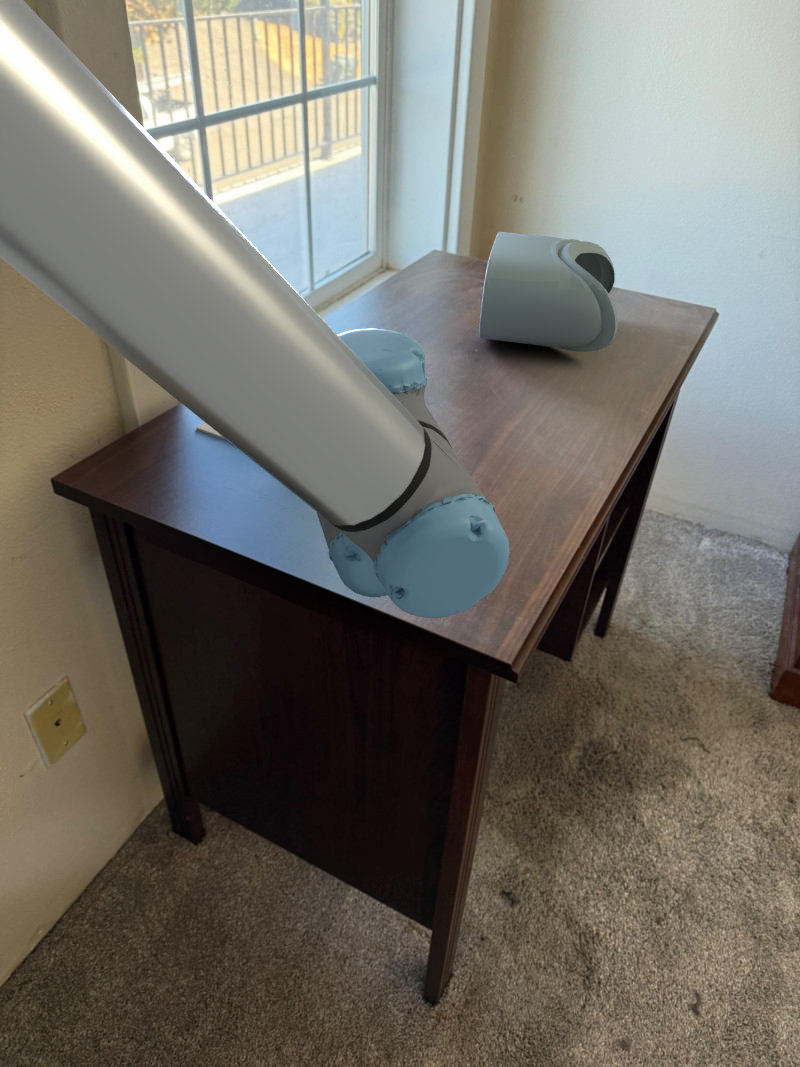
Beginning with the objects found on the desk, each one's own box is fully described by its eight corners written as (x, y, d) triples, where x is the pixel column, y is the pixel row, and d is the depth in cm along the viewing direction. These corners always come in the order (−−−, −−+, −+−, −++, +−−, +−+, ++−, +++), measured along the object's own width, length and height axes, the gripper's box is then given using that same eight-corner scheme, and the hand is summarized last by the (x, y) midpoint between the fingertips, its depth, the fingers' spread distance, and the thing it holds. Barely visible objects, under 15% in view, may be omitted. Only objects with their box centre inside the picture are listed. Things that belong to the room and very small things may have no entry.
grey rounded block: (491, 301, 125) (500, 221, 117) (606, 313, 123) (624, 232, 115) (476, 355, 108) (485, 266, 100) (609, 371, 106) (629, 281, 98)
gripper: (244, 508, 68) (217, 391, 85) (434, 482, 72) (371, 375, 89) (236, 437, 63) (209, 328, 80) (439, 413, 67) (372, 315, 85)
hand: (294, 353), depth 85 cm, fingers closed on ink box, 5 cm apart
